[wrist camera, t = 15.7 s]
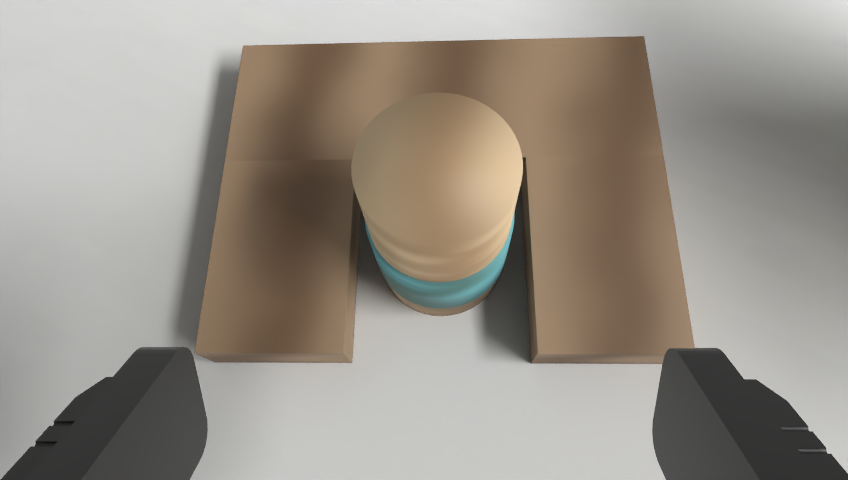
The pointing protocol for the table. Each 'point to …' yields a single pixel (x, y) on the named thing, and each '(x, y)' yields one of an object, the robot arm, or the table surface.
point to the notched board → (540, 189)
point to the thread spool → (438, 198)
